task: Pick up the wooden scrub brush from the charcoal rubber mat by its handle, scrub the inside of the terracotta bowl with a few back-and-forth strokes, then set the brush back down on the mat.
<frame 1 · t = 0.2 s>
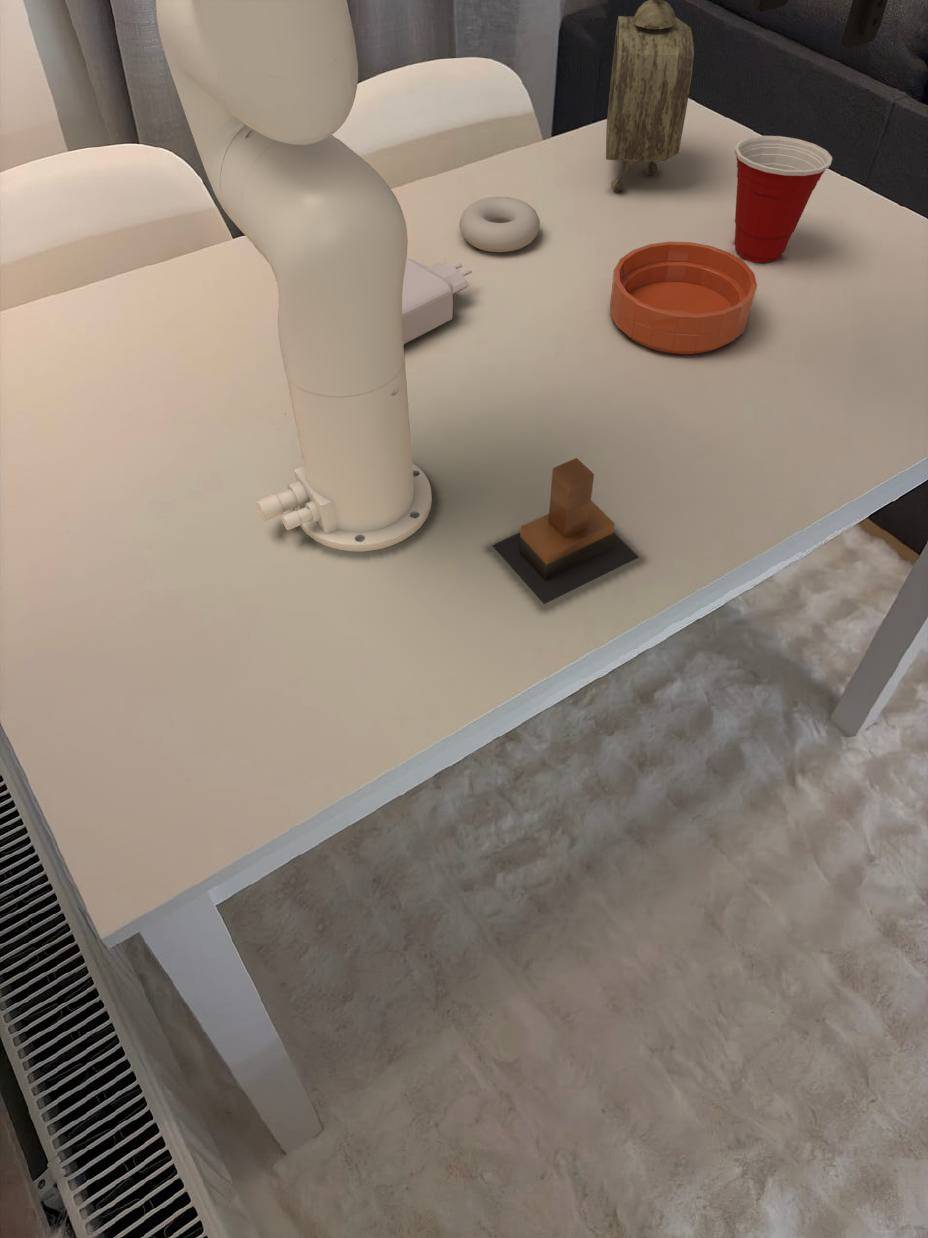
hand: (812, 25, 75), 31 cm above the table, tool pointing down, fingers open, 9 cm apart
donut: (499, 238, 115), on the table
tabletop clock: (636, 175, 125), on the table
bowl: (677, 318, 103), on the table
plastic cup: (758, 251, 112), on the table
brush: (565, 550, 80), resting on mat
charger: (417, 313, 105), on the table
mat: (564, 554, 80), on the table
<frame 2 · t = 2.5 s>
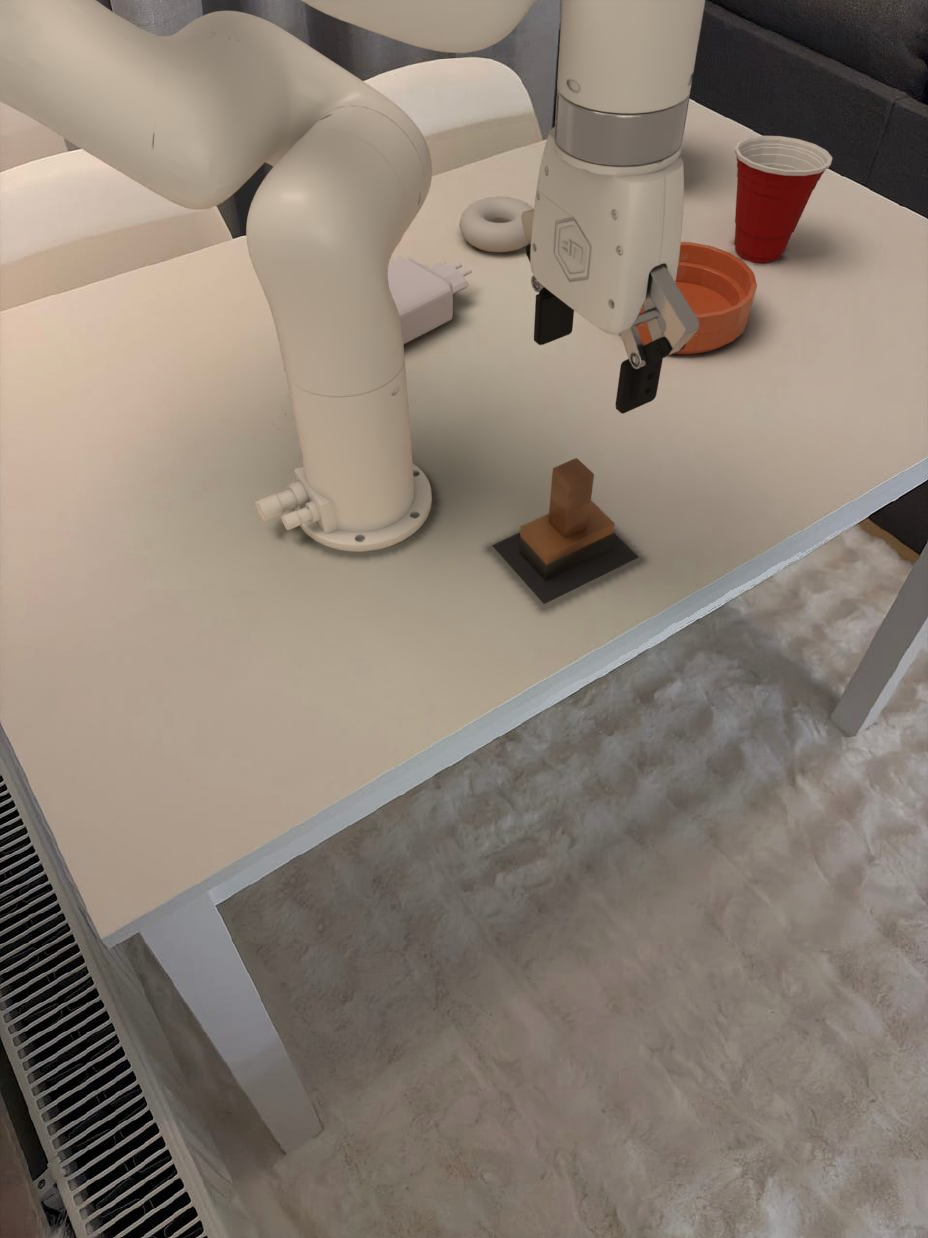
hand: (592, 370, 66), 18 cm above the table, tool pointing down, fingers open, 9 cm apart
nothing on the table moved.
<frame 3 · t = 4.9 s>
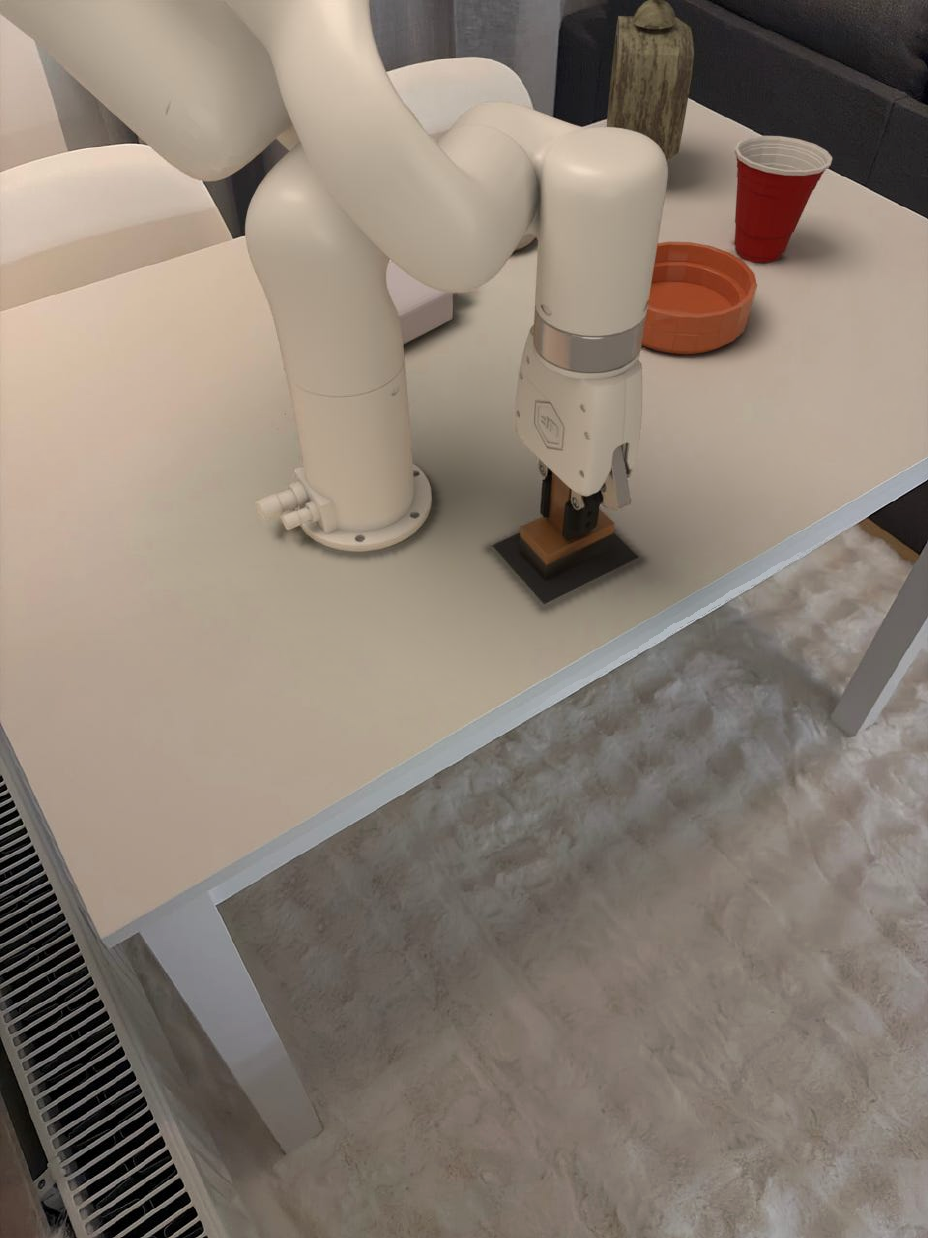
hand: (568, 519, 77), 4 cm above the table, tool pointing down, fingers closed on brush, 2 cm apart
brush: (565, 550, 80), resting on mat, touching gripper
everything else where it was.
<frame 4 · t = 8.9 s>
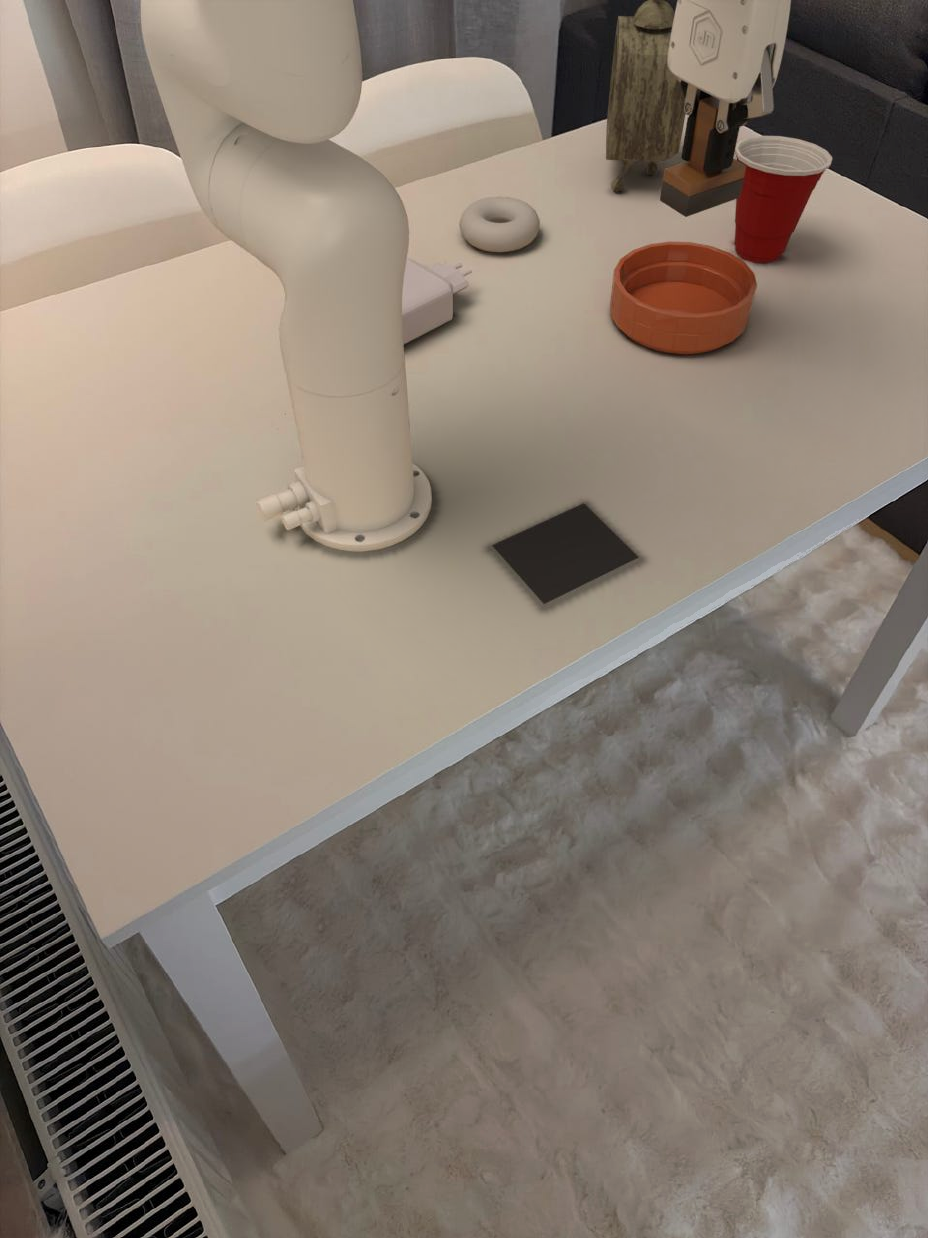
hand: (706, 161, 89), 18 cm above the table, tool pointing down, fingers closed on brush, 2 cm apart
brush: (699, 199, 92), point 14 cm above the table, touching gripper
everything else where it was.
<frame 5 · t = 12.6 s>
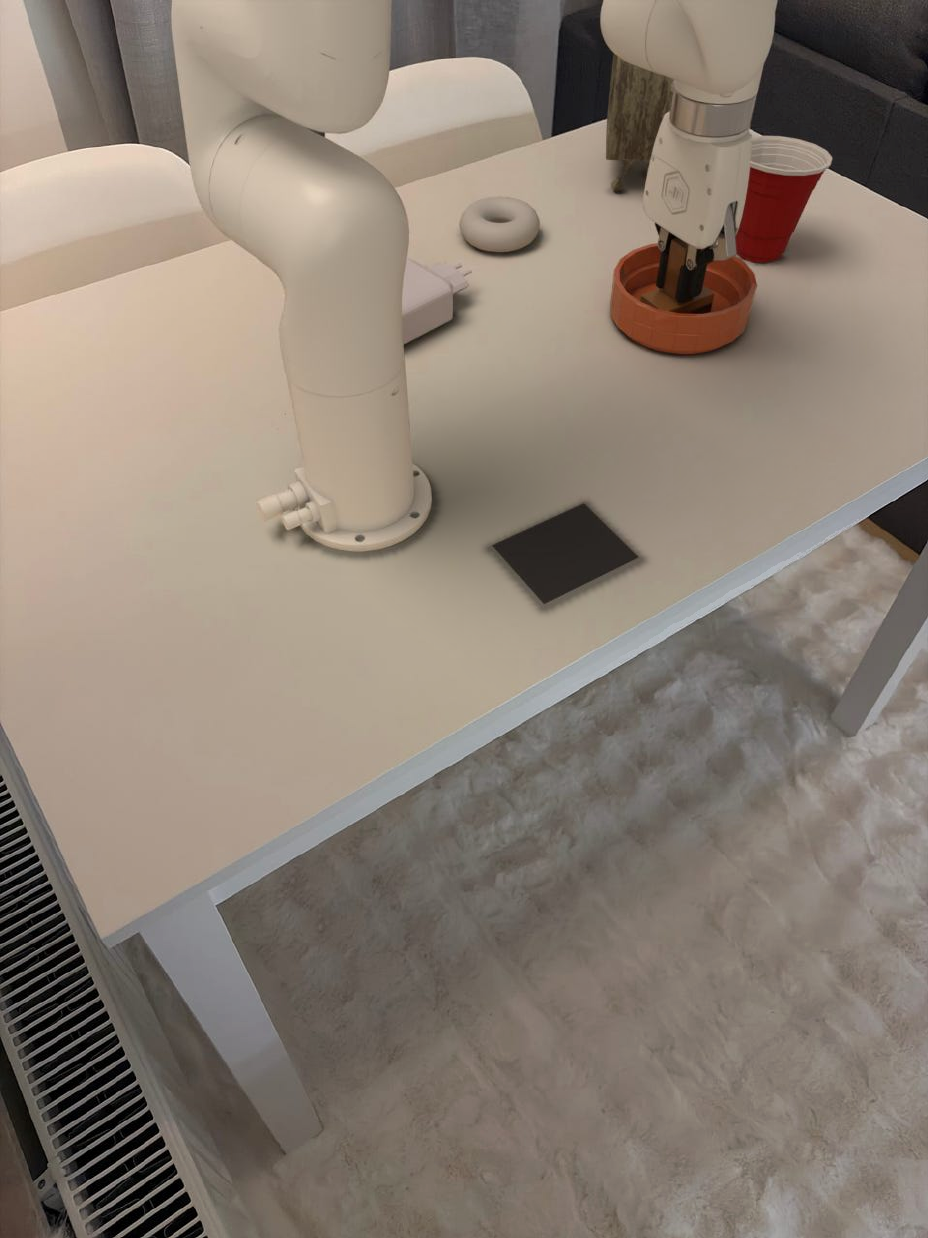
hand: (678, 289, 99), 5 cm above the table, tool pointing down, fingers closed on brush, 2 cm apart
brush: (673, 319, 101), point 1 cm above the table, touching gripper
everything else where it was.
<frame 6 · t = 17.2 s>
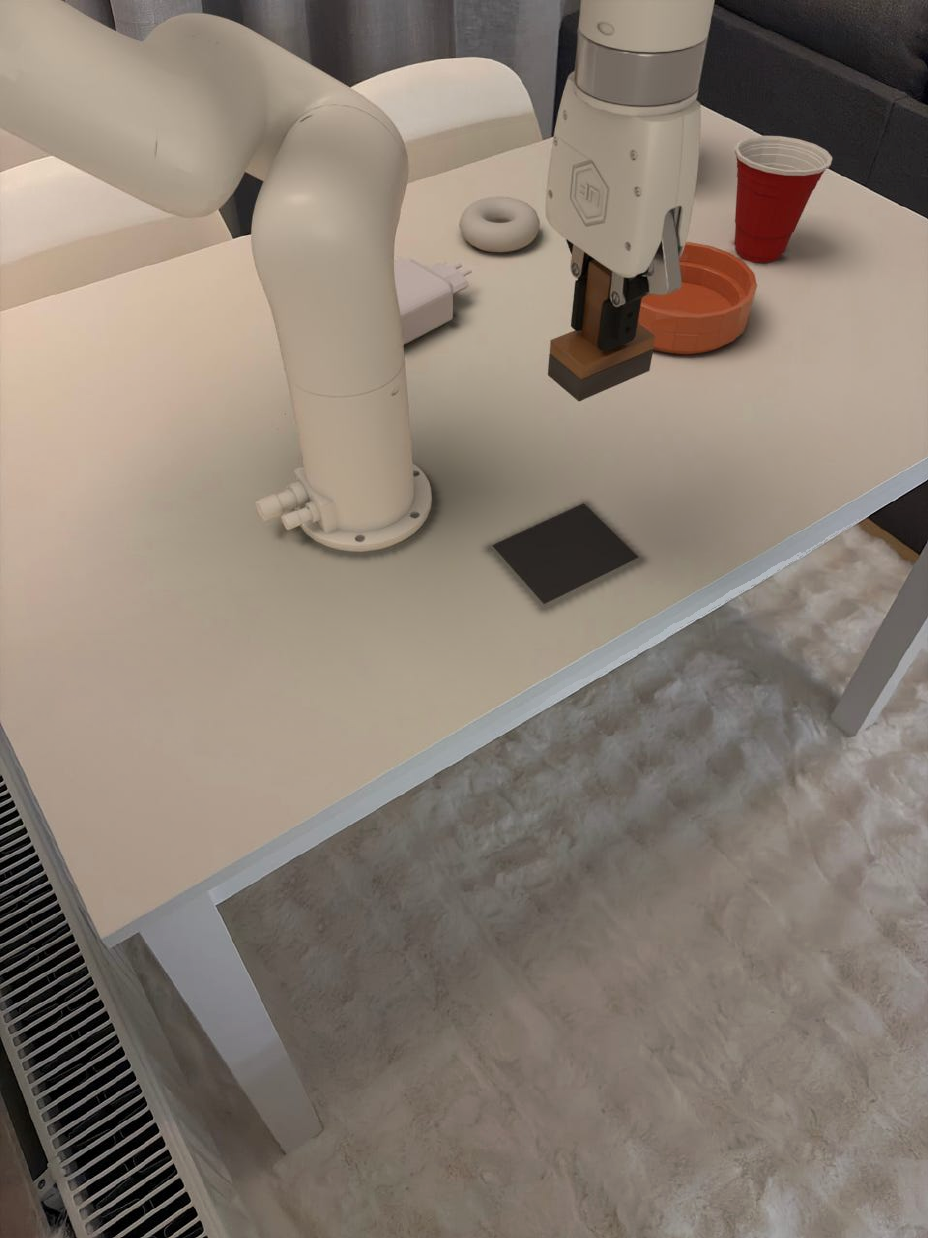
hand: (602, 332, 69), 19 cm above the table, tool pointing down, fingers closed on brush, 2 cm apart
brush: (598, 373, 72), point 15 cm above the table, touching gripper
everything else where it was.
when the fingers open (4 cm above the table, at t = 20.7 s): brush stays where it is, resting on mat.
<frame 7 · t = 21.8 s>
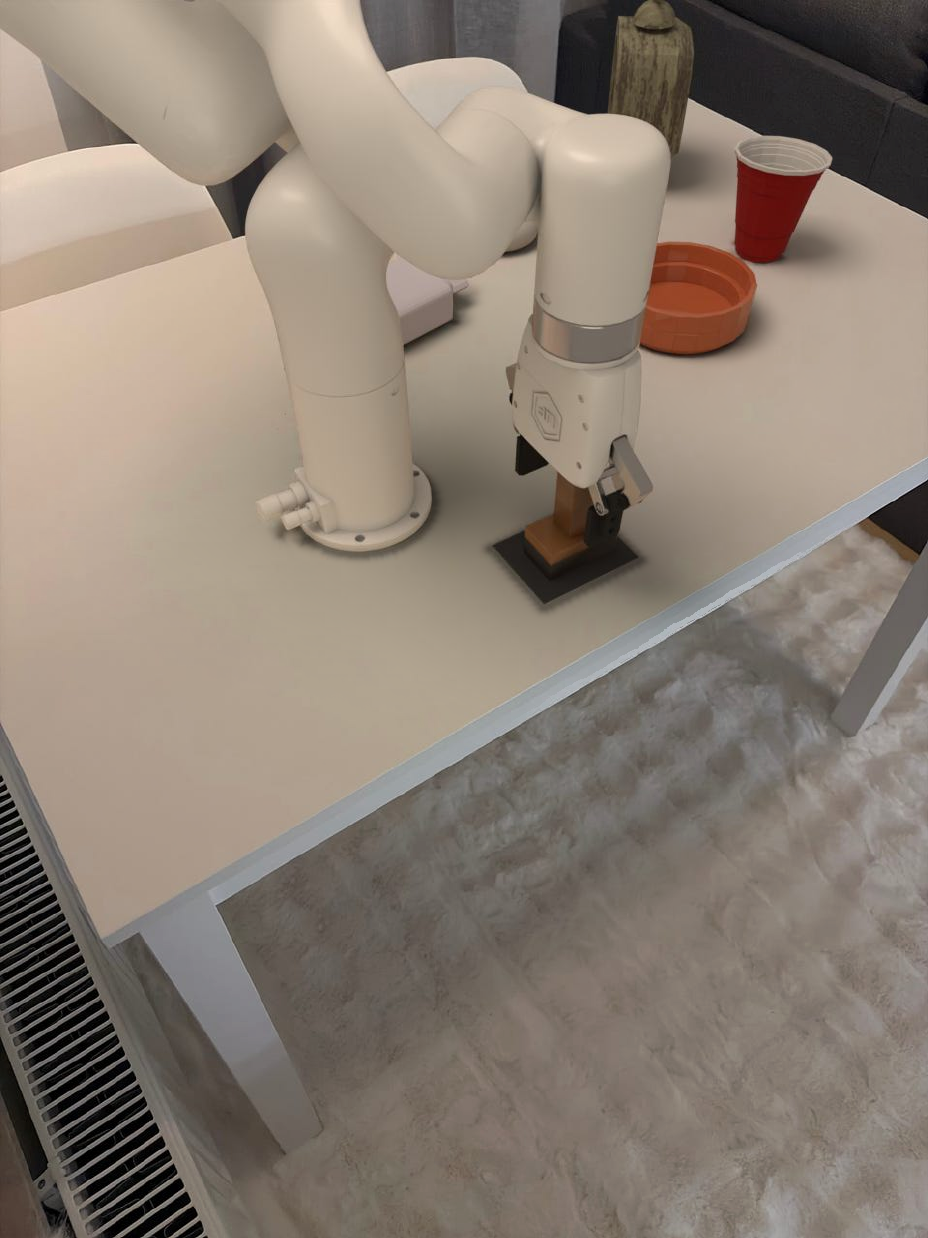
hand: (565, 502, 76), 6 cm above the table, tool pointing down, fingers open, 9 cm apart
brush: (569, 551, 80), resting on mat
everything else where it was.
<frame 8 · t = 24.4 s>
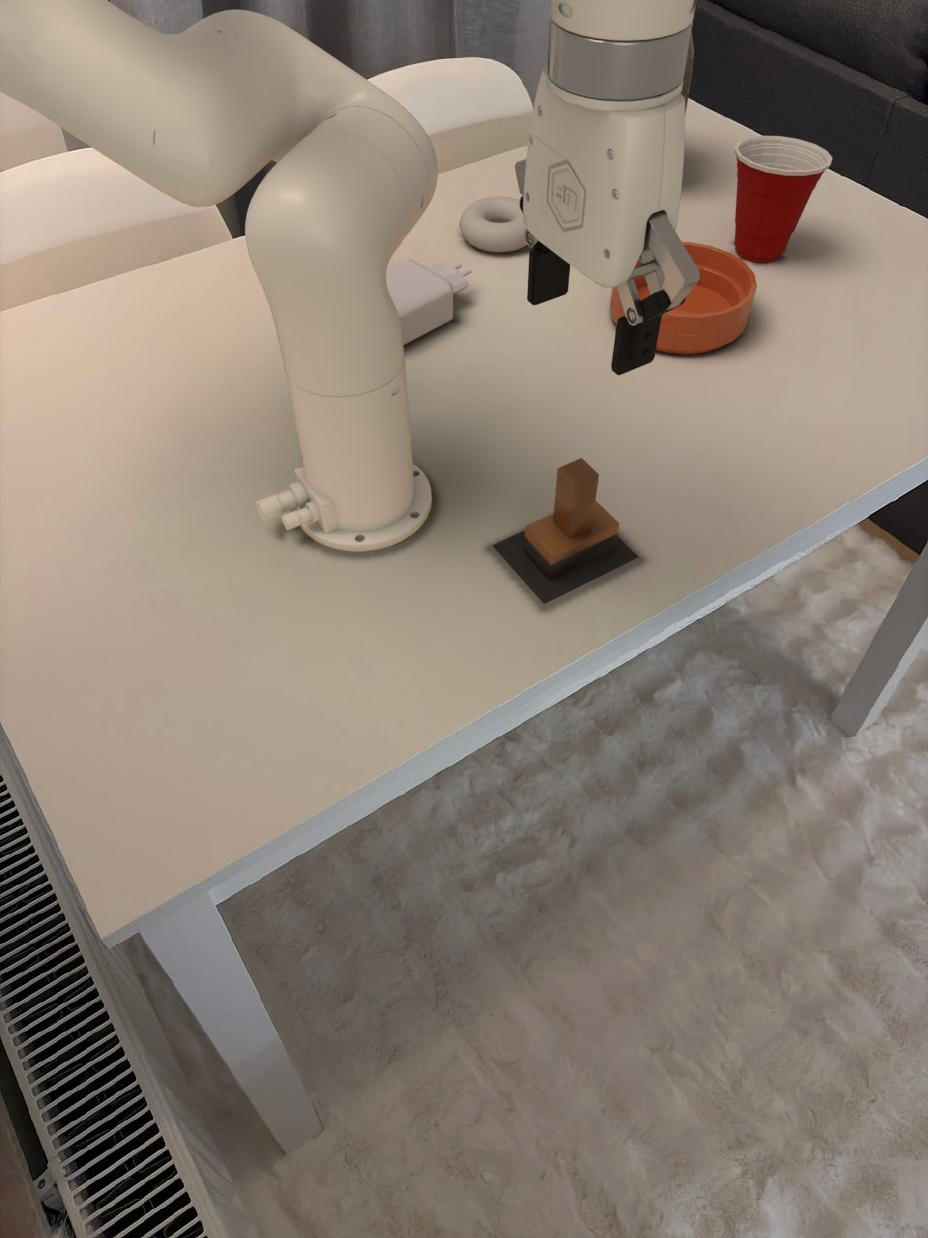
hand: (588, 331, 63), 22 cm above the table, tool pointing down, fingers open, 9 cm apart
nothing on the table moved.
at the end: brush inside the target area on the mat (0.4 cm from its centre), point 0.4 cm above the mat's base; brush tilted 0°; brush touching mat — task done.
